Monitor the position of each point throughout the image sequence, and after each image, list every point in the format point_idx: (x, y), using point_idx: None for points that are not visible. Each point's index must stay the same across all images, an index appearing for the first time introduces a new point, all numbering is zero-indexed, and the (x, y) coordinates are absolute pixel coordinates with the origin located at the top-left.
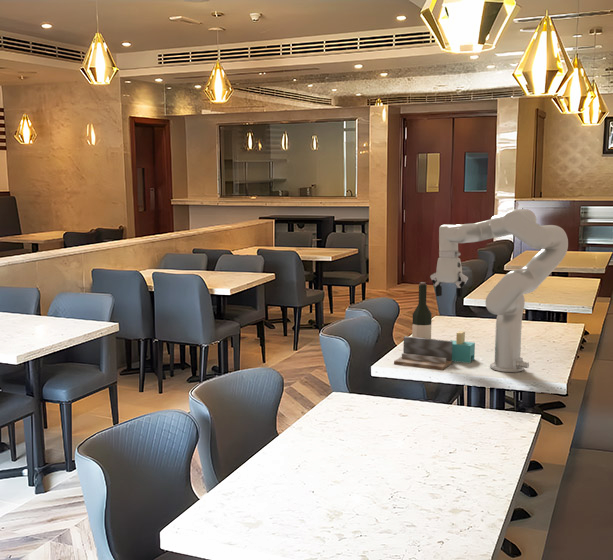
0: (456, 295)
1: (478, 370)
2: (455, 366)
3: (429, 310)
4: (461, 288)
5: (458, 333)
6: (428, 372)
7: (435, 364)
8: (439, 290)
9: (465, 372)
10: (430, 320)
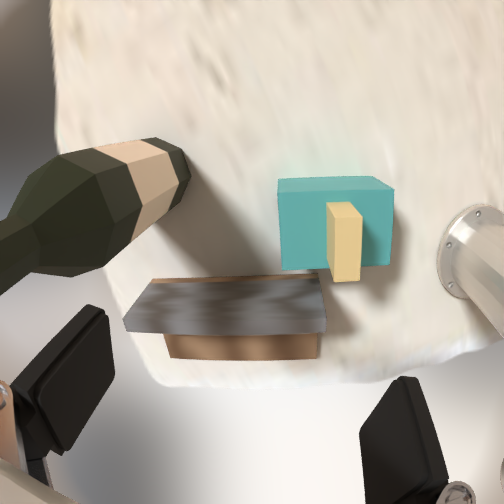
0: (361, 449)
1: (408, 311)
2: (339, 304)
3: (77, 204)
4: (433, 492)
5: (343, 281)
6: (289, 384)
7: (288, 347)
8: (79, 393)
9: (378, 345)
10: (130, 216)
